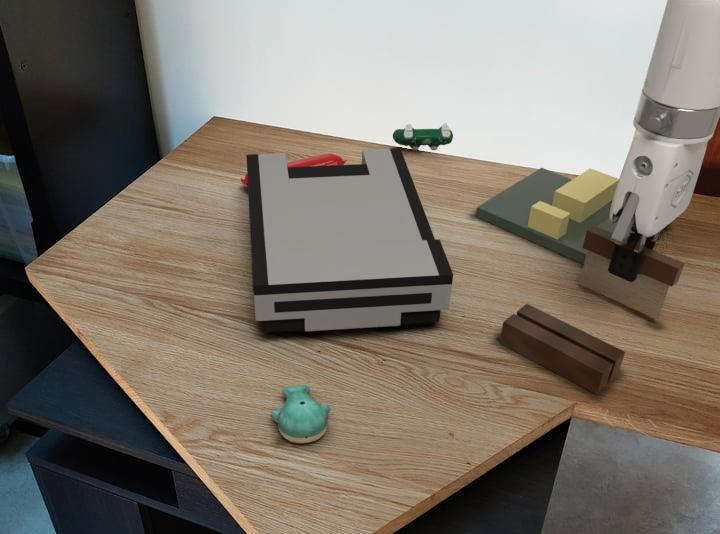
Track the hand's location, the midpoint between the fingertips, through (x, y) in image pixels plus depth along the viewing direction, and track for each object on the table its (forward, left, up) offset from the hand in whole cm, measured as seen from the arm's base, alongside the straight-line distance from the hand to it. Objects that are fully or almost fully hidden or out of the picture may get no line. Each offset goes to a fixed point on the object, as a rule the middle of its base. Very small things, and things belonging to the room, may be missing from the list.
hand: (626, 271), depth 88 cm
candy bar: (+48, +5, -2) cm, 49 cm away
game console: (+30, +16, -5) cm, 34 cm away
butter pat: (+14, -7, -3) cm, 16 cm away
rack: (0, +13, -5) cm, 14 cm away
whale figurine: (+13, +39, -5) cm, 41 cm away
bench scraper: (0, 0, -4) cm, 4 cm away
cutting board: (+14, -13, -5) cm, 20 cm away
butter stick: (+14, -16, -3) cm, 21 cm away
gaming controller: (+42, -17, -5) cm, 46 cm away
